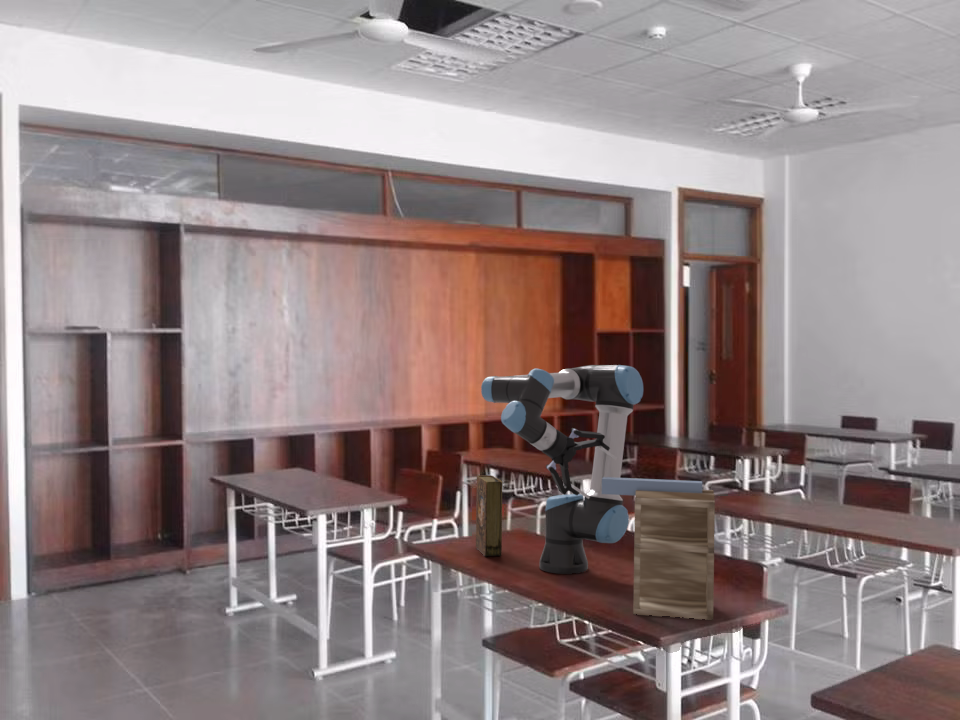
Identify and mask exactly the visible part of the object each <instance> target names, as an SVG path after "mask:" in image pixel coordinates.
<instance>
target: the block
mask: <svg viewBox="0 0 960 720" xmlns="http://www.w3.org/2000/svg"><path fill="white" fill-rule="evenodd" d="M636 490H643V491H665V492H687V493H702V490H703V480H685V479H684V480H679V479H662V478H661V479H660V478H659V479H655V478H632V477H631V478H630V477H620V478H614V477H603V478H602V494H613V495H620V496H634V497H636Z"/></svg>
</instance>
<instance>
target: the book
mask: <svg viewBox="0 0 960 720" xmlns="http://www.w3.org/2000/svg"><path fill="white" fill-rule="evenodd" d="M475 505H476V509H475V510H476V511H475V512H476V515H475V517H476V518H475V522H476V523H475V525H476V526H475V533H476V534H475V548H476V547H477V548H476V550H477V551H478V550H479V551H480V552H481V553H482V554H483V555H482V554H481V553H480V552H479V553H480V554H481V555H482V556H483V557H490V556H491V557H492V556H497V557H502V549H503V548H502V546H503V545H502V542H503V539H502V538H503V535H502V533H503V481H502V480H501V479H499V478H497V477H496V476H494V475H492V474H491V475H490V474H483V475H482V474H479V475H476V504H475Z"/></svg>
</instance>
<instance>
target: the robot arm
mask: <svg viewBox="0 0 960 720" xmlns="http://www.w3.org/2000/svg"><path fill="white" fill-rule="evenodd" d="M480 386H481V387H480V388H481V389H480V391H481V396H482V398H483V399H484V400H485V401H486V402H490V403H494V404H495V403H497V404H498V403H499V404H503V403H504V404H506V405H505V408H503V410H502V412H501V415H500V421H501V423H502V425H504V426H505V427H506V428H507V429H508V430H509V431H511V432H512V433H513V434H515V435H517V436H518V437H520V438H521V439H523V440H524V441H526V442H528V443H529V444H530V445H532V446H533V447H535V449H537V450H539V451H541V453H543V454H545V455H546V456H547V457H549V458H550V460H552V461H551V462H549V464H546V465H545V468H546V469H547V470H548V471H549V472H550V474H551V476H552V477H551V478H552V480H553V481H554V483H555V485H556V487H557V489H558V492H560V493H561V494H558V495H553V496H549V497H548V498H547V499H546V501H545V509H544V511H545V543H544V547H543V550H542V553H541V555H540V558H539V569H540V570H541V571H544V572H546V573H551V574H552V573H553V574H559V575H560V574H561V575H573V574H572V573H576V574H581V573H580V572H582V573H585V572H587V571H588V570H589V563H588V558H587V556H586V551H585V547H584V544H583V542H584V541H583V540H587V541H593V542H598V543H600V544H615V543H617V542H618V541H620V540H622V537H624V535H625V533H626V531H627V529H628V526H629V522H630V519H629V517H630V515H629V513H628V512H629V511H628V509H627V508H626V507H625V506H624V505H623V502H624V500H623V498H622V497H621V495H613V494H602V478H603V477H614V478H621V474H622V466H623V456H624V450H625V449H624V447H625V440H626V432H627V423H628V416H629V415H630V414H631V413H633V411H634V405H636V404H638V403H640V402H641V399H642V398H643V396H644V382H643V379H642V376H641V375H640V372H639V371H638V370H637V368H635V367H633V366H630V365H621V364H618V365H617V364H613V365H612V364H611V365H609V364H600V365H599V364H589V365H583V366H578V367H572V368H565V369H562V370H560V371H559V372H548V371H546V370H545V369H540V368H533V369H531V370H530V371H529V372H528V374H521V375H520V374H519V375H509V376H508V375H506V376H505V375H504V376H497V375H493V376H486V377H485V378H484V380H483V381H482V382H481V385H480ZM553 398H555V399H556V398H562V399H564V400H580V401H586V402H595V406H594V407H595V408H596V410H597V411H598V412H599V414H598V415H599V416H598V423H597V430H596V431H585V430H578V429H577V428H573V427H572V428H571V429H570V432H571V433H570V435H569V436H567V435H566V434H564V433H563V432H561V431H560V430H558V429H557V428H555V427H554V426H553V425H551V424H550V423H549V422H547V421H546V420H545V419H543V418H542V417H541V416H542V414H543V412H544V408H545V406H546V404H547V402H548V400H549V399H553ZM579 437H580V438H586V439H587V438H589V439H590V440H584V441H583V440H582V441H575V438H576V439H577V438H579ZM587 448H594V456H593V465H592V471H591V472H592V473H591V481H590V490H589V491H587V492H586V493H585V492H584V491H583V490H581V489H580V488H579V487H577V486H575V485H574V484H572V482H571V478H570V476H571V475H570V471H569V463H570V462H571V461H572V460H573V458H574V457H575V456H576V454H577V451H580V450H582V449H583V450H584V449H587ZM557 464H558V465H559V467H560V471H561V477H560V475H559V473H558V471H557V466H556V465H557ZM561 478H562V479H561ZM562 481H563V482H562ZM568 492H570V493H569V494H567V493H568ZM571 493H572V494H571ZM587 569H588V570H587ZM586 570H587V571H586ZM584 571H585V572H584Z"/></svg>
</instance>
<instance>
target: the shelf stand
mask: <svg viewBox="0 0 960 720" xmlns="http://www.w3.org/2000/svg"><path fill="white" fill-rule="evenodd" d="M715 504H716V501H715V492H714V489H702V493H687V492H665V491H643V490H636V496H634V532H633V533H634V534H633V535H634V537H633V538H634V540H633V542H634V547H633V548H634V549H633V602H632V603H633V604H632V605H633V607H632V609H633V611H632V613H633V615H636V614H637V615H639V616H649V615H652V616H651V617H662V616H670V617H669V618H675V617H680V618H679V619H689V618H694V619H693V620H702V619H705V620H704V621H714V592H715V591H714V587H715V586H714V584H715V582H714V581H715V574H714V573H715V523H716V521H715V518H716V517H715V516H716V515H715V511H716V510H715V509H716V508H715V507H716V506H715ZM682 617H684V618H682Z"/></svg>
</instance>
